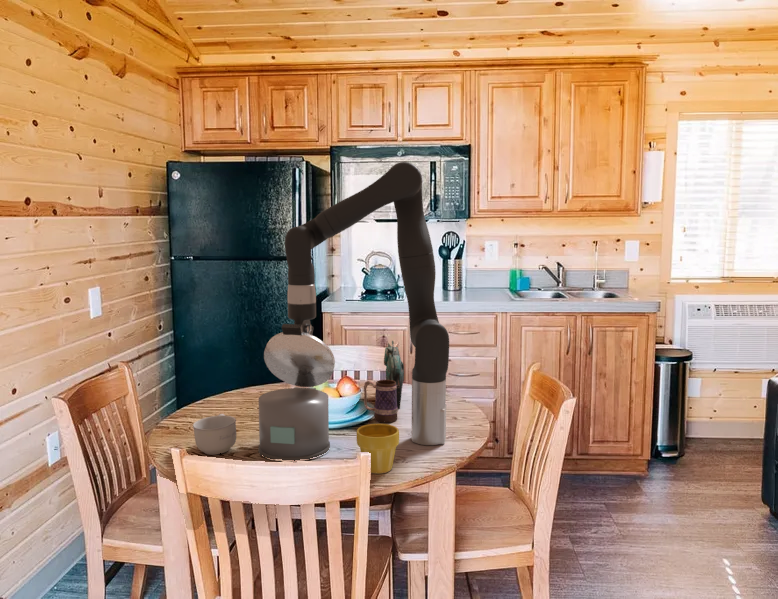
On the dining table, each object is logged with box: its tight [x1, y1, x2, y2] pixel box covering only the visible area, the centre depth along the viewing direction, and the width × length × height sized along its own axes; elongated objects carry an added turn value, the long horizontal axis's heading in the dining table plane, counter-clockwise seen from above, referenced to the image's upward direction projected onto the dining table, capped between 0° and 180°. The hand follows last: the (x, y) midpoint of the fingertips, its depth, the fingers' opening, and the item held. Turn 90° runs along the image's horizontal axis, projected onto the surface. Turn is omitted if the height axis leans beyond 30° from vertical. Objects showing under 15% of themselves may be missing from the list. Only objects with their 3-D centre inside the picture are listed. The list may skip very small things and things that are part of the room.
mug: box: [363, 379, 399, 424], centre depth 191 cm, size 10×7×12 cm
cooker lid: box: [263, 323, 336, 388], centre depth 169 cm, size 19×21×3 cm
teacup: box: [192, 413, 237, 455], centre depth 167 cm, size 14×11×8 cm
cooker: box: [258, 386, 331, 461], centre depth 167 cm, size 19×20×14 cm
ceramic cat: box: [383, 340, 405, 410], centre depth 210 cm, size 20×6×20 cm, turn 3°
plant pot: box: [356, 423, 400, 475], centre depth 154 cm, size 10×10×10 cm
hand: (303, 363), depth 173 cm, fingers closed
